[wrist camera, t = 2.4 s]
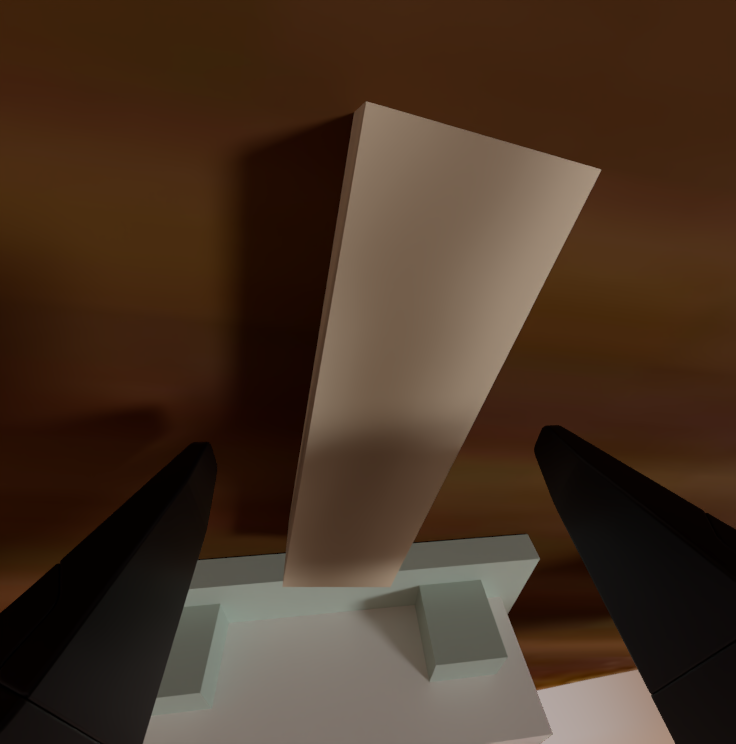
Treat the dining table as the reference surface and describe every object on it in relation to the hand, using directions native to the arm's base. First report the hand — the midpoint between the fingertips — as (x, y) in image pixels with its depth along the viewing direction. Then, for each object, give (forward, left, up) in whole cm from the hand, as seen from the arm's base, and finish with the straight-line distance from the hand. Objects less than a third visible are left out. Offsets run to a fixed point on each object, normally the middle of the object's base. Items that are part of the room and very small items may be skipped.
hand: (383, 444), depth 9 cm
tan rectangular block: (0, 0, -3) cm, 3 cm away
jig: (+2, +15, -2) cm, 15 cm away
